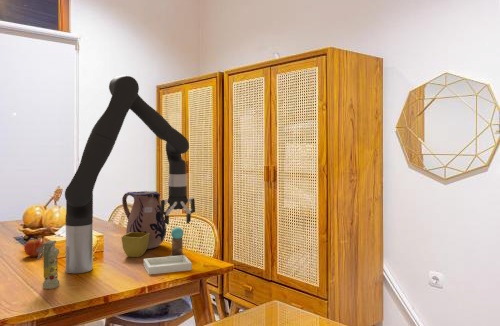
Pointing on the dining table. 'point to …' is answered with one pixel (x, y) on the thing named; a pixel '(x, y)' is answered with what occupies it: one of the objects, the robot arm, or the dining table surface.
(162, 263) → the tray
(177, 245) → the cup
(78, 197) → the robot arm
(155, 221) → the ceramic pitcher
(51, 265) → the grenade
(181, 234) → the ball
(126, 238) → the flower pot
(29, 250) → the fruit
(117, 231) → the dining table surface
